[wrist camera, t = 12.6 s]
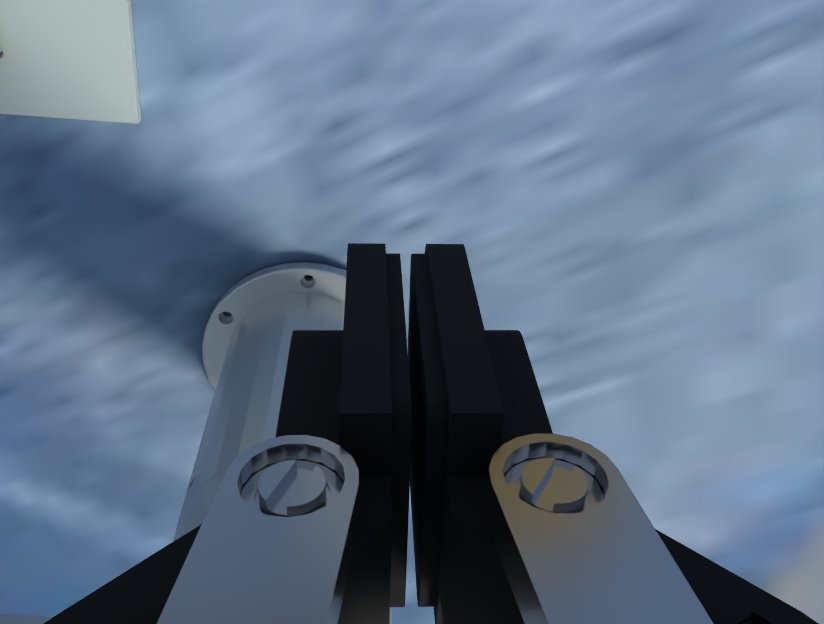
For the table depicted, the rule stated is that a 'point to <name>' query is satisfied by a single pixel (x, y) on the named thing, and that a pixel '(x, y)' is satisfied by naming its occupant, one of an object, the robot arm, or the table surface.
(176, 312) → the table surface
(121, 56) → the mat
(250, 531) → the robot arm
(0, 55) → the snack box
